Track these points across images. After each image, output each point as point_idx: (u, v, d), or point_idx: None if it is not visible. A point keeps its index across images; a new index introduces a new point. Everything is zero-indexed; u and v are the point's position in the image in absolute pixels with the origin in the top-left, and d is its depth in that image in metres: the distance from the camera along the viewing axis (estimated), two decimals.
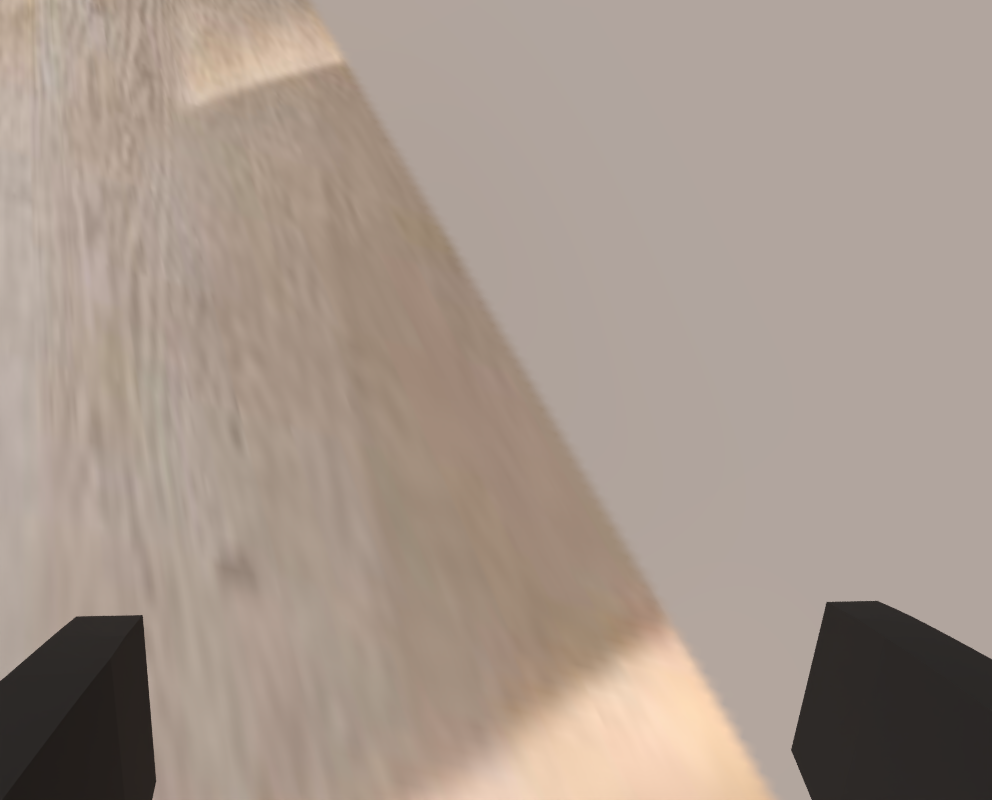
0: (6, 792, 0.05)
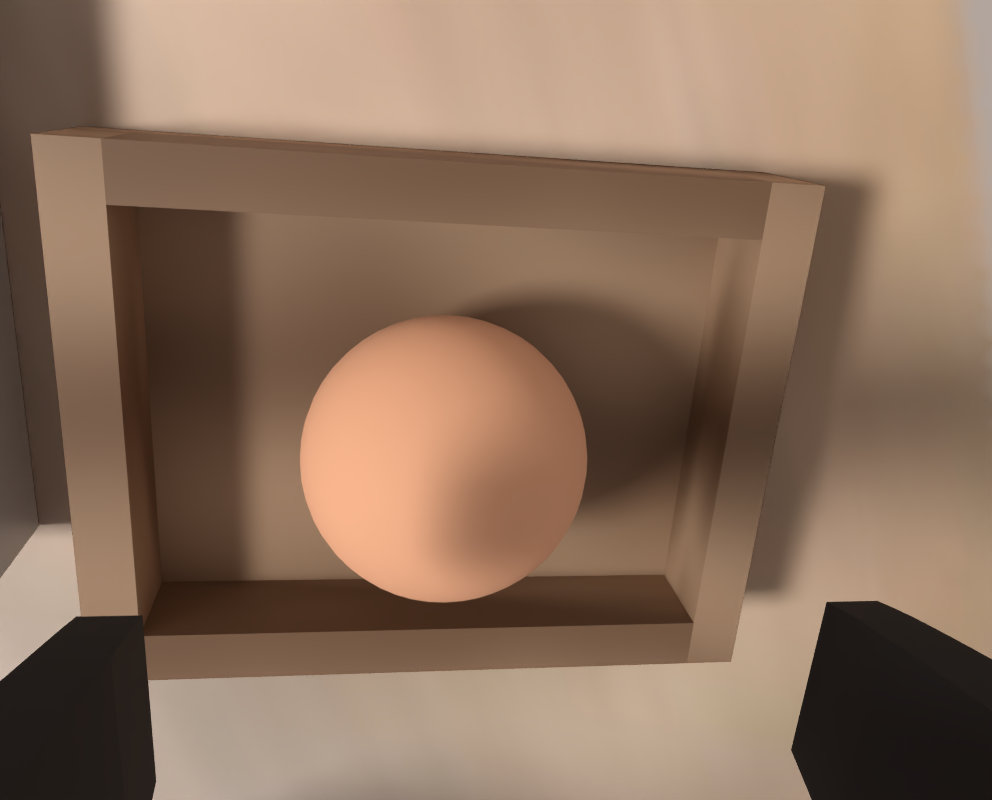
0: (6, 792, 0.05)
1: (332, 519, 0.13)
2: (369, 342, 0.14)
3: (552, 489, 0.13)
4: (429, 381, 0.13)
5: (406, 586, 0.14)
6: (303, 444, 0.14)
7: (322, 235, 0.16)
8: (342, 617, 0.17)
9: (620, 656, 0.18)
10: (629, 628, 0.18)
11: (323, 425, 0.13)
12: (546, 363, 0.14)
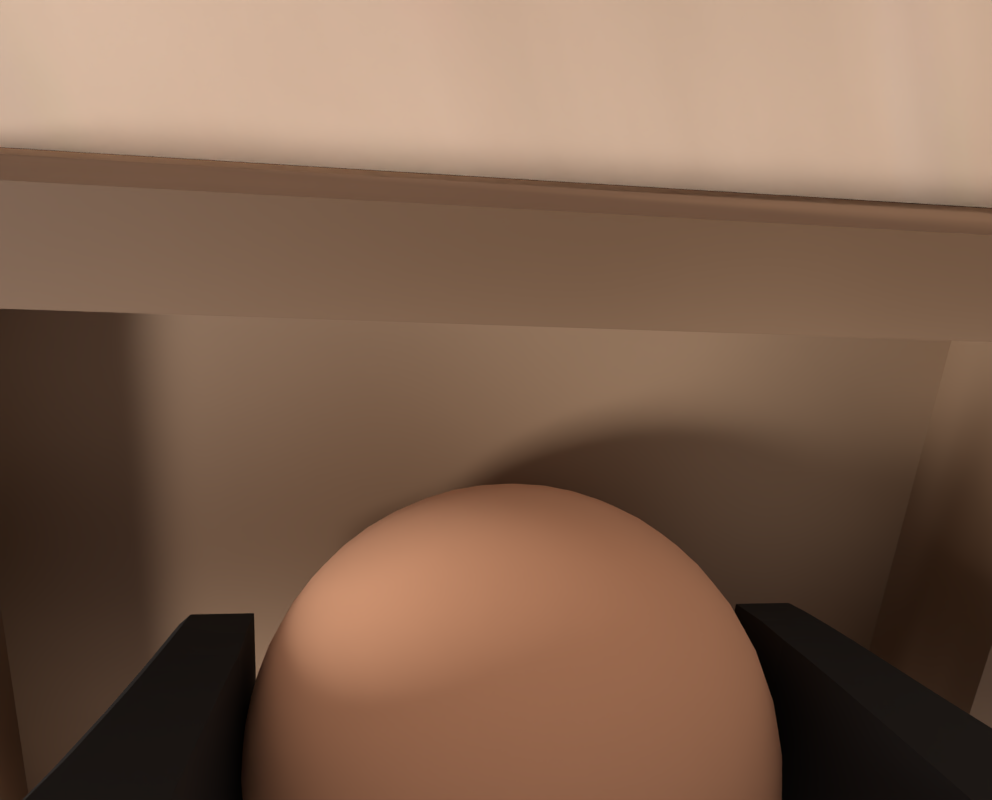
0: (175, 784, 0.06)
1: None
2: (372, 559, 0.07)
3: None
4: (498, 684, 0.06)
5: None
6: (245, 756, 0.07)
7: (290, 328, 0.09)
8: None
9: None
10: None
11: (277, 747, 0.07)
12: (709, 592, 0.07)
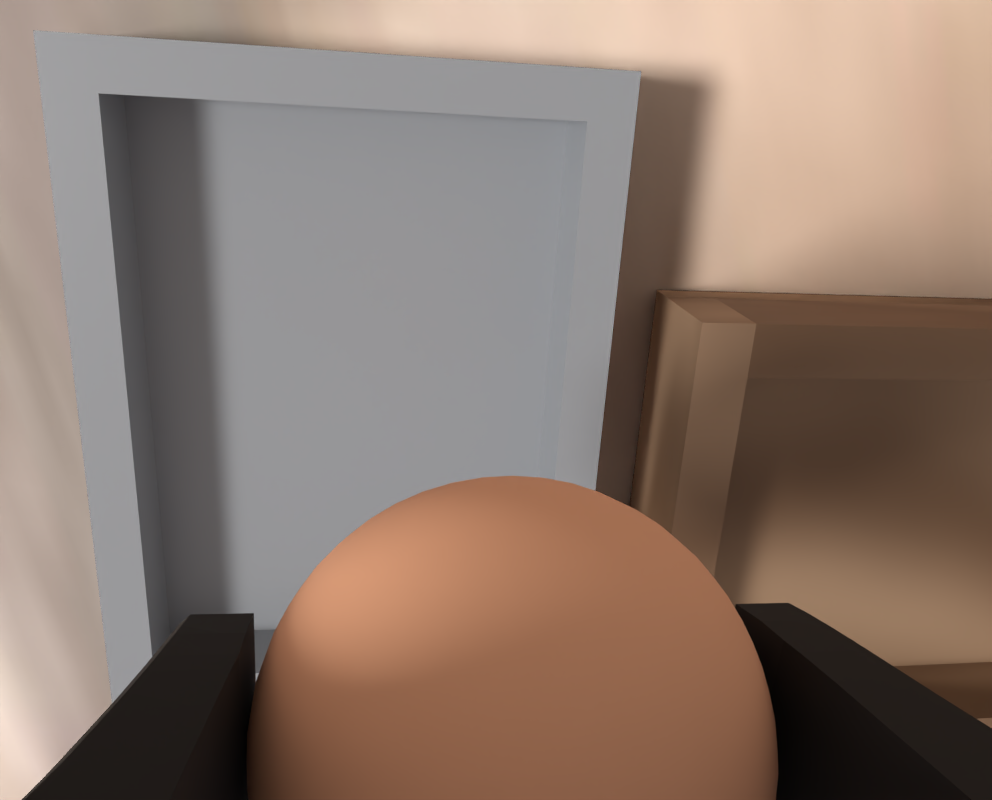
0: (175, 784, 0.06)
1: None
2: (368, 549, 0.07)
3: None
4: (480, 670, 0.06)
5: None
6: (248, 737, 0.08)
7: None
8: None
9: None
10: None
11: (274, 730, 0.07)
12: (703, 583, 0.08)
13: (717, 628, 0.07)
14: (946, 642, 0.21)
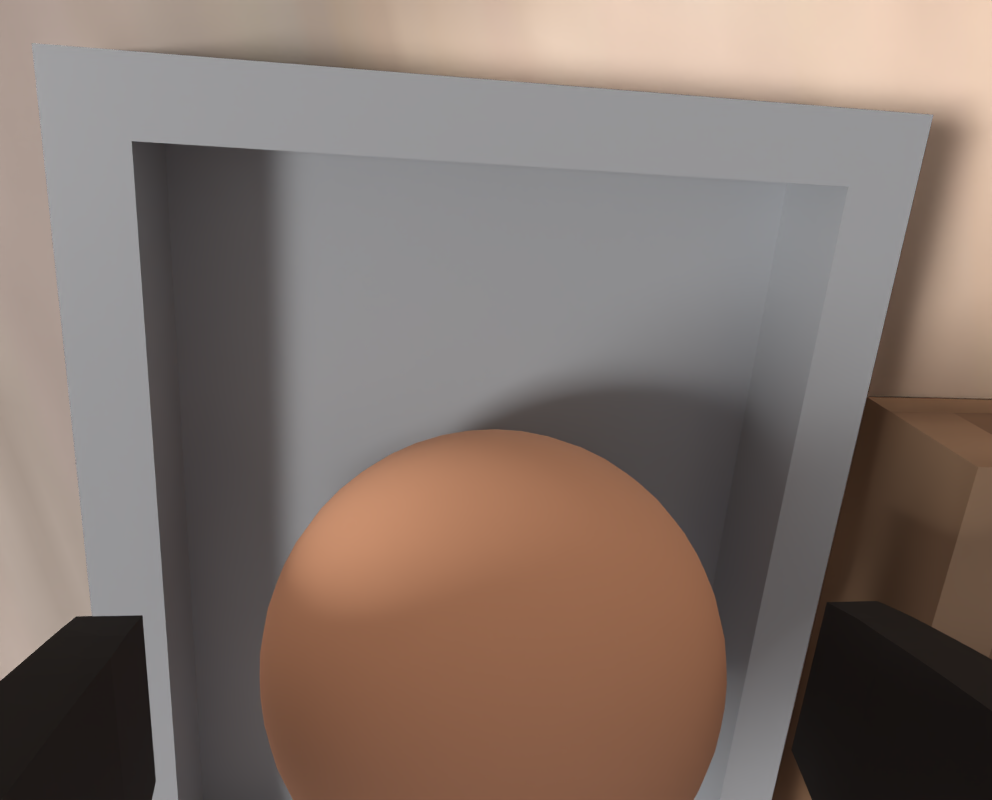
0: (6, 792, 0.05)
1: None
2: (367, 488, 0.09)
3: (680, 759, 0.08)
4: (463, 582, 0.07)
5: None
6: (262, 654, 0.09)
7: None
8: None
9: None
10: None
11: (285, 639, 0.08)
12: (660, 517, 0.09)
13: (670, 553, 0.08)
14: None
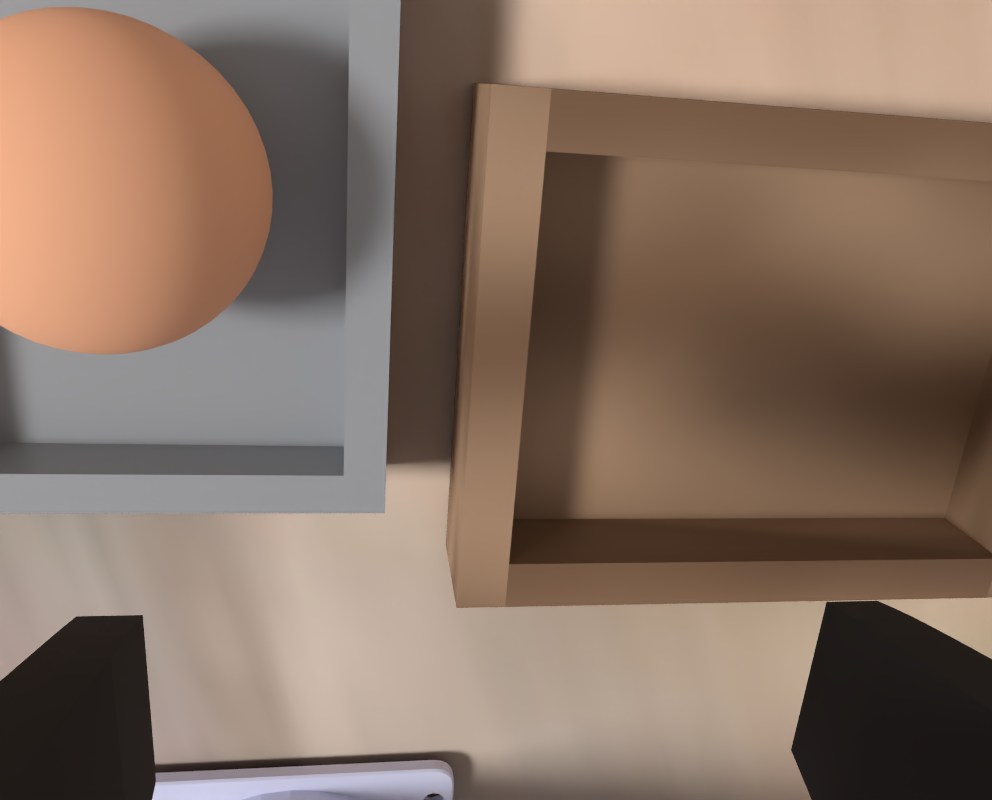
0: (6, 792, 0.05)
1: None
2: None
3: (172, 182, 0.11)
4: (6, 43, 0.11)
5: (14, 310, 0.11)
6: None
7: (684, 187, 0.17)
8: (678, 550, 0.18)
9: (929, 590, 0.19)
10: (940, 563, 0.19)
11: None
12: (195, 58, 0.12)
13: (188, 67, 0.12)
14: (804, 493, 0.20)
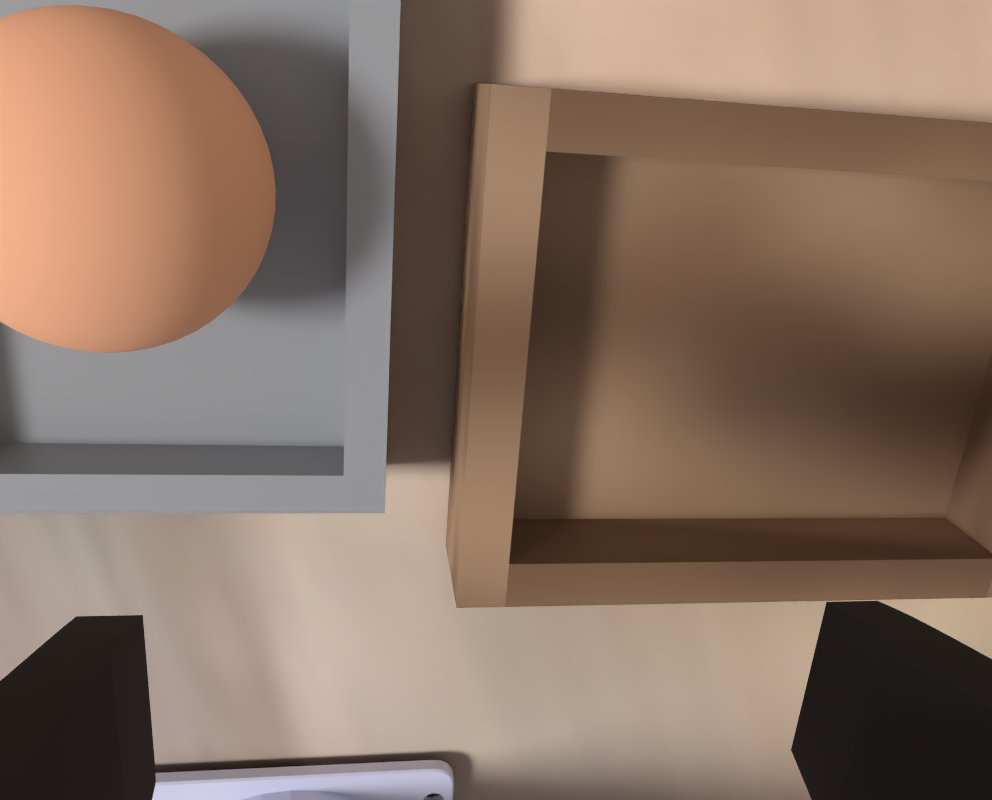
0: (6, 792, 0.05)
1: None
2: None
3: (179, 179, 0.11)
4: (11, 39, 0.11)
5: (19, 307, 0.11)
6: None
7: (684, 187, 0.17)
8: (678, 550, 0.18)
9: (929, 590, 0.19)
10: (940, 563, 0.19)
11: None
12: (200, 56, 0.12)
13: (193, 65, 0.12)
14: (804, 493, 0.20)
